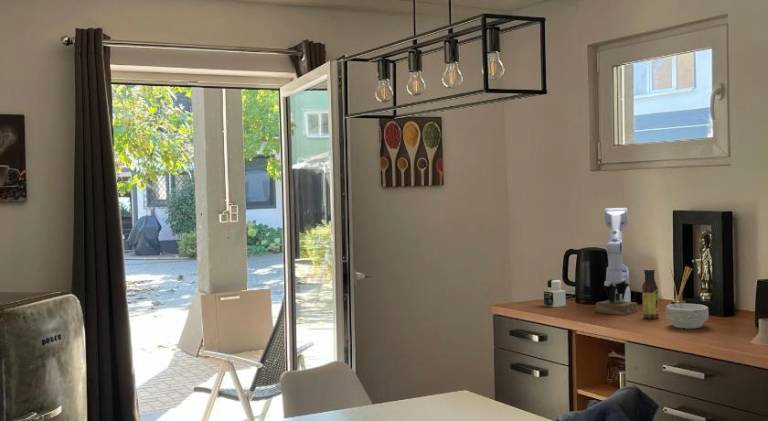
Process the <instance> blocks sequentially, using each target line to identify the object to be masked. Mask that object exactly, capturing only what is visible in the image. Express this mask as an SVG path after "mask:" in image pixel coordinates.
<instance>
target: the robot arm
mask: <svg viewBox="0 0 768 421" xmlns="http://www.w3.org/2000/svg"><path fill="white" fill-rule="evenodd" d="M628 217H629V216H628V208H627V207H605V209H604V220H605V225H606V227H607V228H609V229H610V230H609V231H608V238H607V239H608V240H607V243H606V254H607V264H608V266H607V267H606V272H605V273H606V274H605V281H604V283H603V284H604V285H602V286H603V289H604V291H605V292H606V295H607V299H608V300H609V302H614V301H615V293H619V294H622V301H625V302H632V300H631V296H632V295H631V289H630V287H629V285H630V271H629V268H628V266H626V265H625V264H624V263H623V254H624V243H623V230H624V228H626V227H627V226H628Z"/></svg>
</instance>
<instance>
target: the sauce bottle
mask: <svg viewBox="0 0 768 421" xmlns="http://www.w3.org/2000/svg"><path fill="white" fill-rule="evenodd" d="M655 270H656V269H654V268H647V269H643V272H644V282H643V283H642V287H641V289H642V294H641V296H642V297H641V299H642V316H643V318H645V319H658V318H660V317H659V316H660V315H659V314H660V310H659V309H660V304H659V303H660V301H659V287H658V285H657V282H656V280H655V279H656V278H655V273H656V271H655Z"/></svg>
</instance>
